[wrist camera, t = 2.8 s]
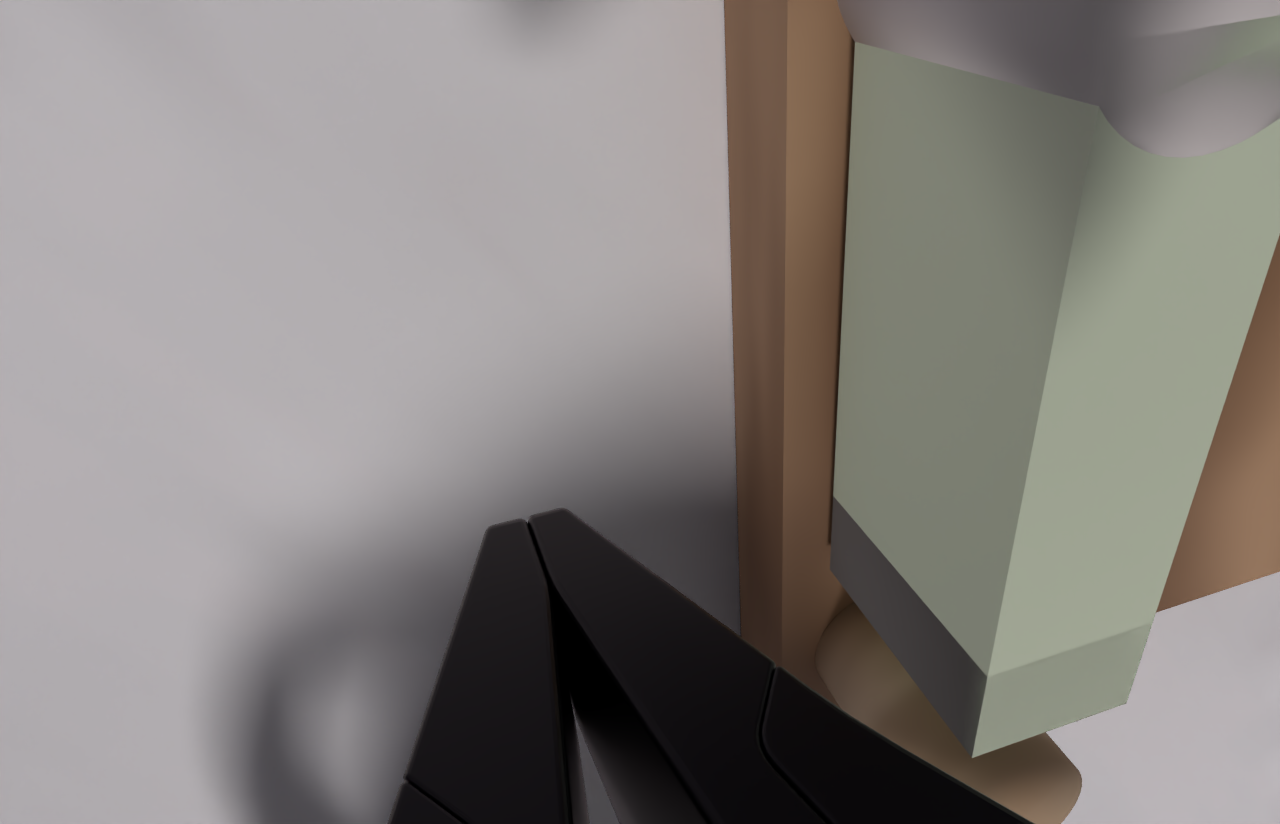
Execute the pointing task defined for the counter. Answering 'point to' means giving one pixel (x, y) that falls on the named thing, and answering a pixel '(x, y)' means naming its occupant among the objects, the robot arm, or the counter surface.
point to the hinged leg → (1041, 329)
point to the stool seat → (808, 399)
